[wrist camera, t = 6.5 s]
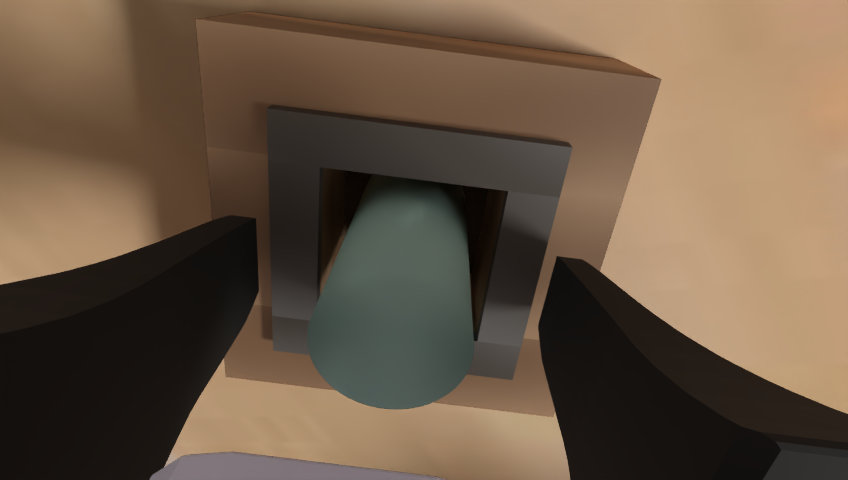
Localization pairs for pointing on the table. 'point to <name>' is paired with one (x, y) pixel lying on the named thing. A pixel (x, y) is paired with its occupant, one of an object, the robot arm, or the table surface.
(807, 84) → the table surface
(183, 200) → the table surface
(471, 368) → the socket
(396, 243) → the peg
